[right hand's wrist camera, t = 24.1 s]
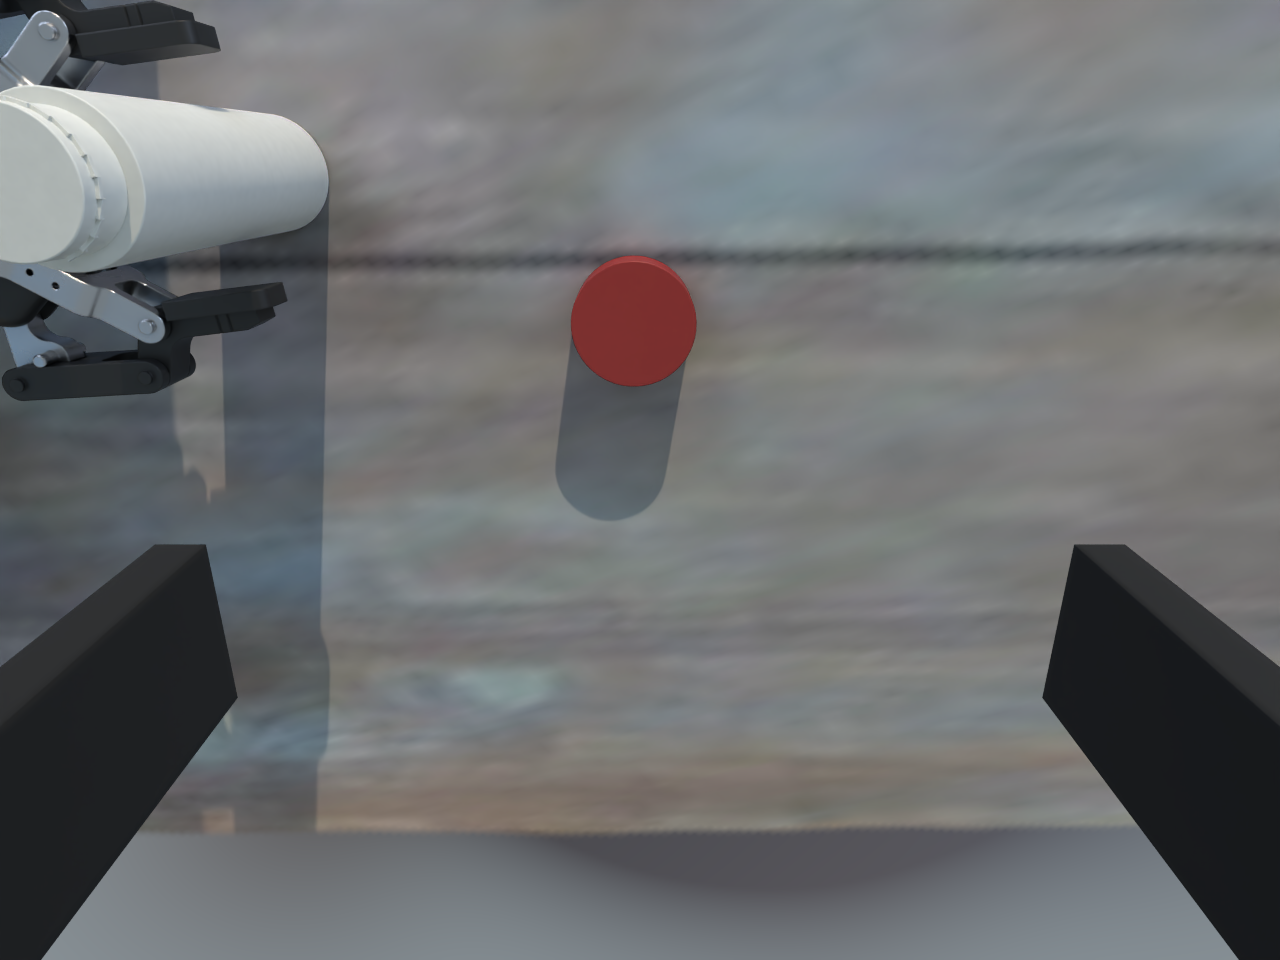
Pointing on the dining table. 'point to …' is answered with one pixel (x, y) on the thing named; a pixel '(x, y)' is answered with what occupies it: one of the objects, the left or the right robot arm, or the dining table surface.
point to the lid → (633, 321)
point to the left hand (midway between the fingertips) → (244, 171)
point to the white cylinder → (145, 177)
